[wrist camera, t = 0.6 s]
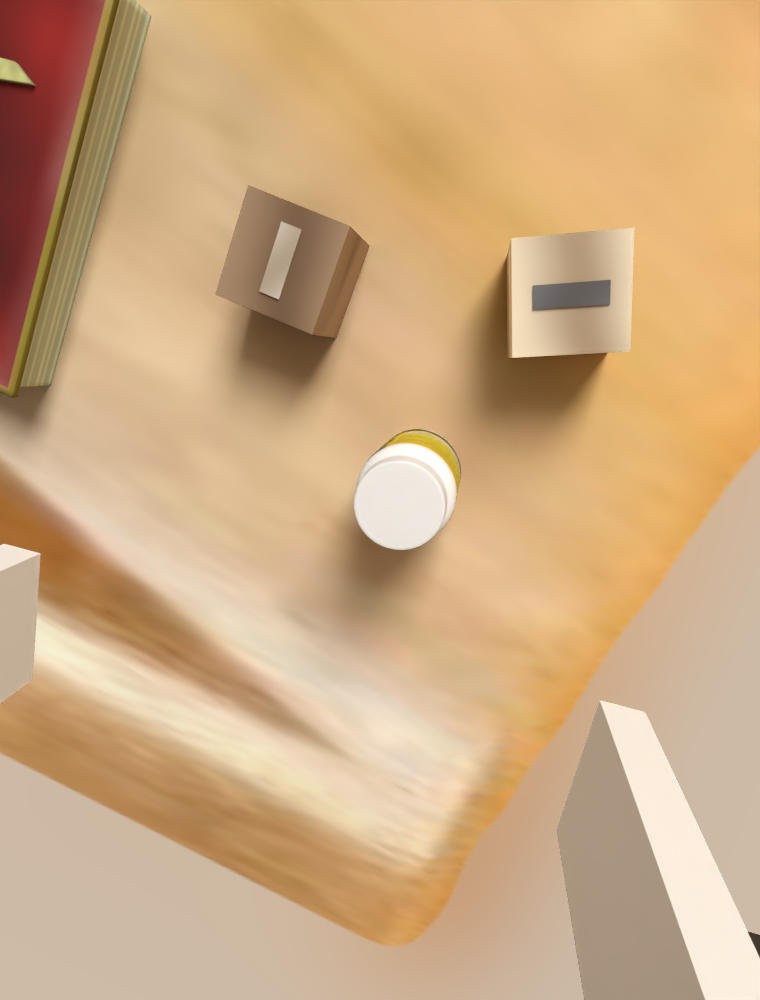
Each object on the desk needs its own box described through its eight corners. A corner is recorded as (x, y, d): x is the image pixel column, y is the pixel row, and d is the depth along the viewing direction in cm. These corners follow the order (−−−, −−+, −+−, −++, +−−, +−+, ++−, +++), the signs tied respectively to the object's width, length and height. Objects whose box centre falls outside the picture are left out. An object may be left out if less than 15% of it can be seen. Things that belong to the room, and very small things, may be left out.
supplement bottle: (390, 417, 34) (362, 435, 26) (472, 443, 33) (470, 470, 25) (366, 497, 35) (332, 539, 27) (445, 523, 35) (435, 574, 26)
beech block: (507, 358, 32) (512, 357, 27) (506, 257, 31) (511, 238, 26) (607, 352, 31) (630, 351, 26) (609, 248, 30) (634, 227, 25)
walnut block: (253, 303, 34) (214, 294, 29) (282, 210, 32) (247, 184, 27) (336, 337, 33) (311, 334, 28) (369, 246, 32) (349, 225, 27)
